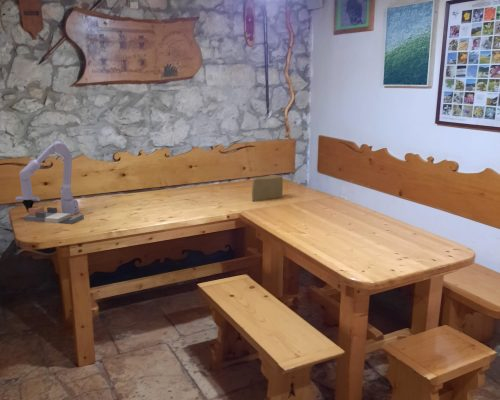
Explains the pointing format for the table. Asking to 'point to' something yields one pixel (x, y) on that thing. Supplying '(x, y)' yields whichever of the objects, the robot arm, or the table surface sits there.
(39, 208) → the block
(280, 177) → the olive upright slab
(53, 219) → the tunnel deck
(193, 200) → the table surface
